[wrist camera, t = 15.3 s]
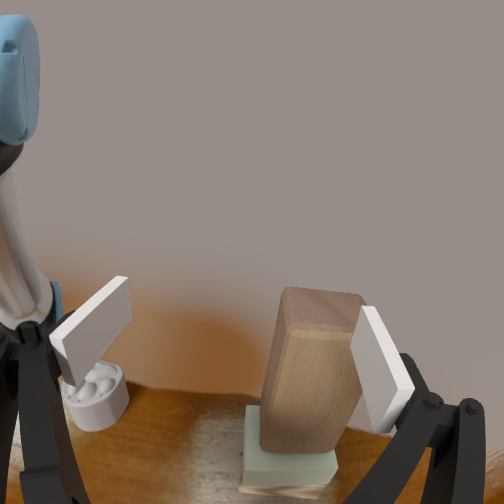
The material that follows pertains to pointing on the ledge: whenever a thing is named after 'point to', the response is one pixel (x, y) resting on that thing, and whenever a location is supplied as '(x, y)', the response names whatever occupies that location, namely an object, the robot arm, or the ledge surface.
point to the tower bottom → (283, 490)
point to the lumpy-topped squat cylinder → (97, 397)
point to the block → (310, 372)
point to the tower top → (281, 461)
